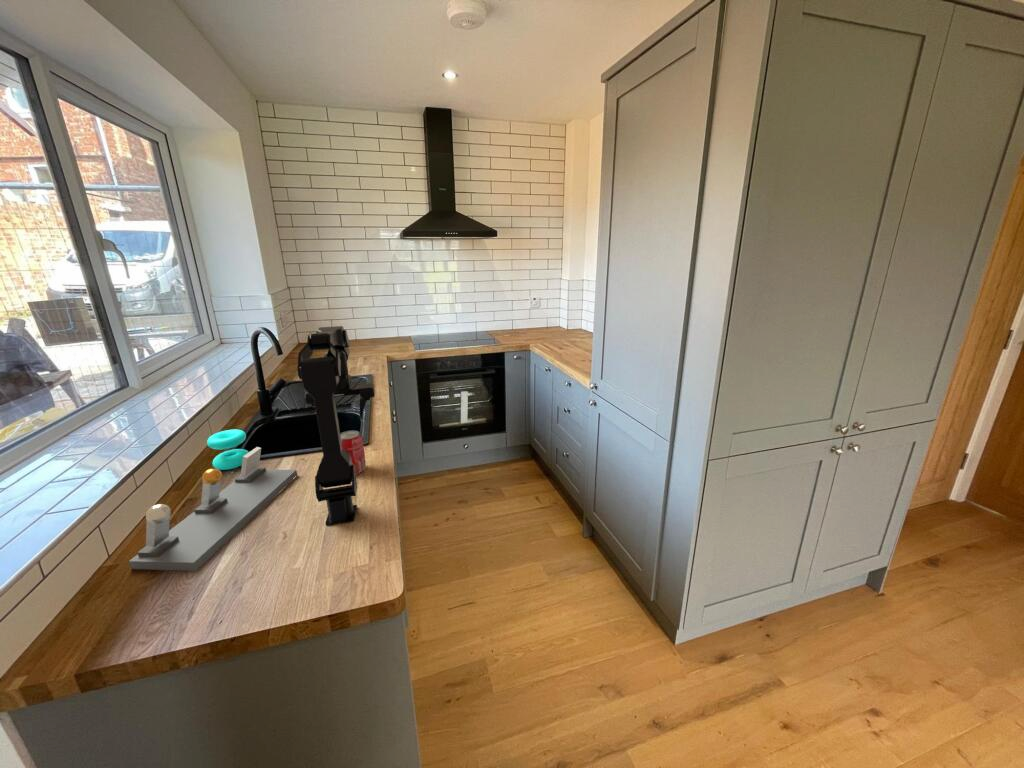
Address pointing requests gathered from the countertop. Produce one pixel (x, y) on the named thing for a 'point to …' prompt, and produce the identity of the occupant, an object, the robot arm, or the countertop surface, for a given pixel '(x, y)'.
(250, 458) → the grey paddle
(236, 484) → the switch panel
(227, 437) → the donuts
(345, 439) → the soda can
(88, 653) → the countertop surface
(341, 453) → the robot arm
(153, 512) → the cream lever
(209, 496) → the orange lever
